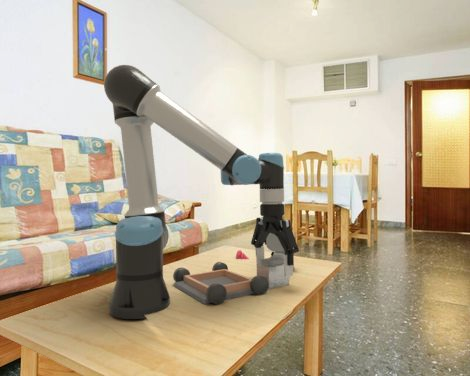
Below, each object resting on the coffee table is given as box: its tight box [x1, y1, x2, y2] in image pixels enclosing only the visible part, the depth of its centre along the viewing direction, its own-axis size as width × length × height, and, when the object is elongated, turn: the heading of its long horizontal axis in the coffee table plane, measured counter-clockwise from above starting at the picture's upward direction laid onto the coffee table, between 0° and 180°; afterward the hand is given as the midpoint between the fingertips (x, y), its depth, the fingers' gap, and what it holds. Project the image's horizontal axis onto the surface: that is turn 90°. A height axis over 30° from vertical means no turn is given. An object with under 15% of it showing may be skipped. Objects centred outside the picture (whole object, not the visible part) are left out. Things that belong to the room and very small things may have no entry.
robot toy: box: [264, 231, 297, 271], centre depth 126 cm, size 12×4×15 cm, turn 64°
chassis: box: [172, 261, 269, 305], centre depth 104 cm, size 20×24×5 cm
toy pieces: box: [235, 249, 249, 260], centre depth 142 cm, size 12×11×4 cm
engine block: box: [256, 257, 290, 290], centre depth 107 cm, size 8×6×8 cm
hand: (273, 271), depth 107 cm, fingers open, 13 cm apart
